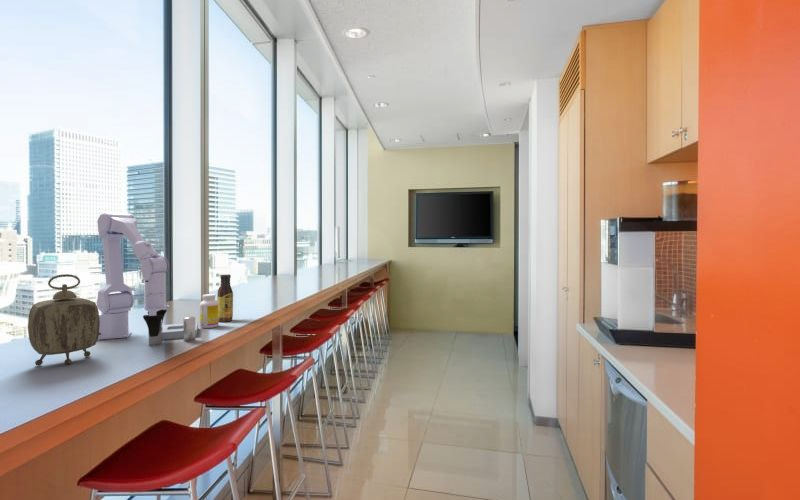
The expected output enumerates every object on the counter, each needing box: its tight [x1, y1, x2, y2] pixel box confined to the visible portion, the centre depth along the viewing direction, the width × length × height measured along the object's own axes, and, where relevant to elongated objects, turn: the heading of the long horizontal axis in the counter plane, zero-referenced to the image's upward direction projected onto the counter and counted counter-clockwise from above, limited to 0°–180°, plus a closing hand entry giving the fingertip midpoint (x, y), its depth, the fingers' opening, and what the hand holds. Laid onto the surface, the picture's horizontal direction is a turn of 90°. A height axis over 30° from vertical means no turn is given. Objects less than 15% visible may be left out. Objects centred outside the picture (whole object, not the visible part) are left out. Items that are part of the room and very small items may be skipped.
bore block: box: [162, 321, 199, 341], centre depth 146 cm, size 14×14×2 cm
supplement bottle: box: [199, 293, 219, 329], centre depth 159 cm, size 7×7×13 cm
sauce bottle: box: [216, 273, 234, 323], centre depth 170 cm, size 6×6×20 cm
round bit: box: [183, 316, 196, 343], centre depth 137 cm, size 4×4×8 cm
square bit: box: [147, 320, 163, 346], centre depth 133 cm, size 4×4×8 cm
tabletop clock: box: [27, 273, 100, 366], centre depth 112 cm, size 14×9×25 cm, turn 141°
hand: (155, 333), depth 133 cm, fingers open, 7 cm apart
